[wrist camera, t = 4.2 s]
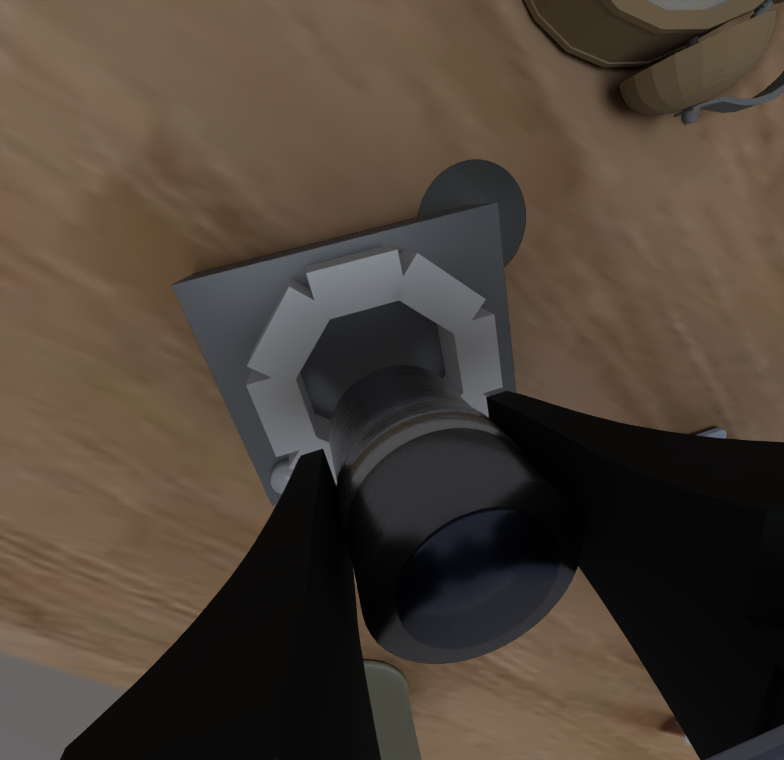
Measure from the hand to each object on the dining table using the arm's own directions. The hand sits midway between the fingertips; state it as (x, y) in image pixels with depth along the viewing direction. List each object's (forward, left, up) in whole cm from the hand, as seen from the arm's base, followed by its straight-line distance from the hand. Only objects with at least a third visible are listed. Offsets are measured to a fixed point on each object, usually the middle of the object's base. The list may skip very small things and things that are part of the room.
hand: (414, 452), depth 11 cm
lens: (0, 0, -2) cm, 2 cm away
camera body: (0, 0, -9) cm, 9 cm away
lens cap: (-6, -4, -10) cm, 12 cm away
